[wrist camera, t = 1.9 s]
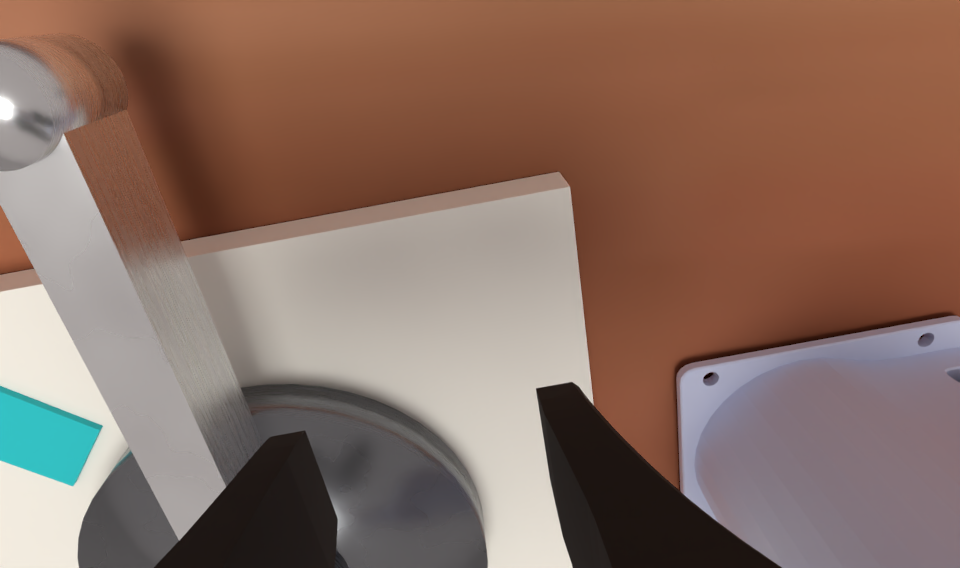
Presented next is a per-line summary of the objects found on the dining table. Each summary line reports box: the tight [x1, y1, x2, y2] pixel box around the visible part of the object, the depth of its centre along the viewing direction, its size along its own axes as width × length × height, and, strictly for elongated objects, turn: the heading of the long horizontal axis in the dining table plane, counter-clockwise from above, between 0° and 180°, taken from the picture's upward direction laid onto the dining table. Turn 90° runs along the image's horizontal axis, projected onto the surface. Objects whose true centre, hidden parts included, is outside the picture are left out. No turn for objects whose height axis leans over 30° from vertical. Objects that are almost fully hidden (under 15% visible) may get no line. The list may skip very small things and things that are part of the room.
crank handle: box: [0, 33, 488, 568], centre depth 16 cm, size 22×12×4 cm, turn 10°
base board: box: [0, 172, 594, 568], centre depth 21 cm, size 20×20×2 cm
